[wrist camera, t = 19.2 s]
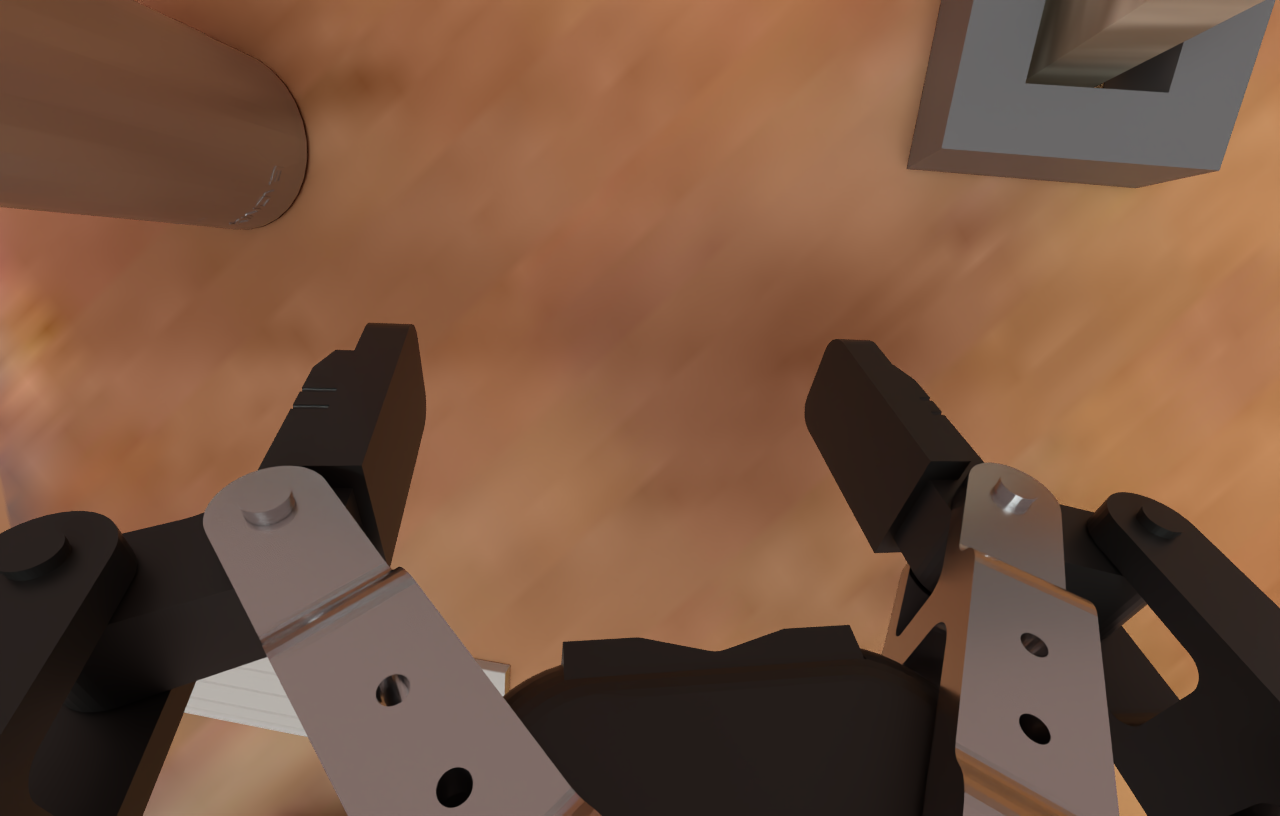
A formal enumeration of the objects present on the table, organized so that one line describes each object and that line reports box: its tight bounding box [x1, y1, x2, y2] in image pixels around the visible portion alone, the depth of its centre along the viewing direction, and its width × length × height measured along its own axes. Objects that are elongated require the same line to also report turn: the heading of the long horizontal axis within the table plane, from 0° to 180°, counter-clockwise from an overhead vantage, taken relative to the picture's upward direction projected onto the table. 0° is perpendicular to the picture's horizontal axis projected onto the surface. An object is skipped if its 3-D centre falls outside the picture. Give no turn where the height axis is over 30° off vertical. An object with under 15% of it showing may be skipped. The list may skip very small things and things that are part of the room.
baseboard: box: [184, 657, 510, 737], centre depth 39 cm, size 30×3×10 cm
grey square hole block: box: [907, 0, 1275, 188], centre depth 23 cm, size 11×10×4 cm
